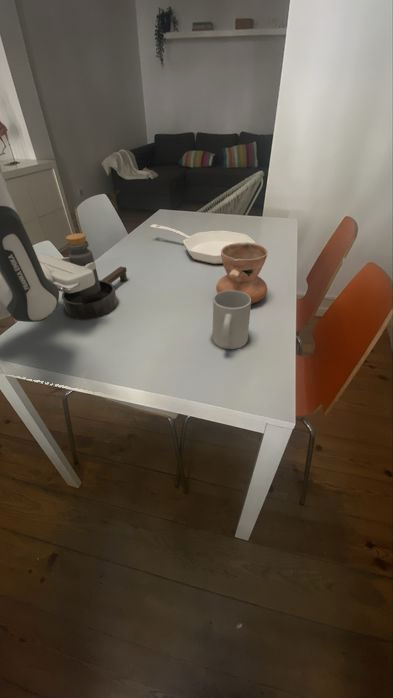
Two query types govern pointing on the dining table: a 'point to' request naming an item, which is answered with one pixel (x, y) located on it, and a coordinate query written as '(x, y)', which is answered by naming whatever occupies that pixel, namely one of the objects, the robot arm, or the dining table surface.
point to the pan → (209, 243)
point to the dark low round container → (91, 302)
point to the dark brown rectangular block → (116, 275)
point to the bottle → (82, 258)
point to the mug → (231, 319)
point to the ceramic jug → (243, 269)
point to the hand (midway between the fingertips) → (84, 261)
